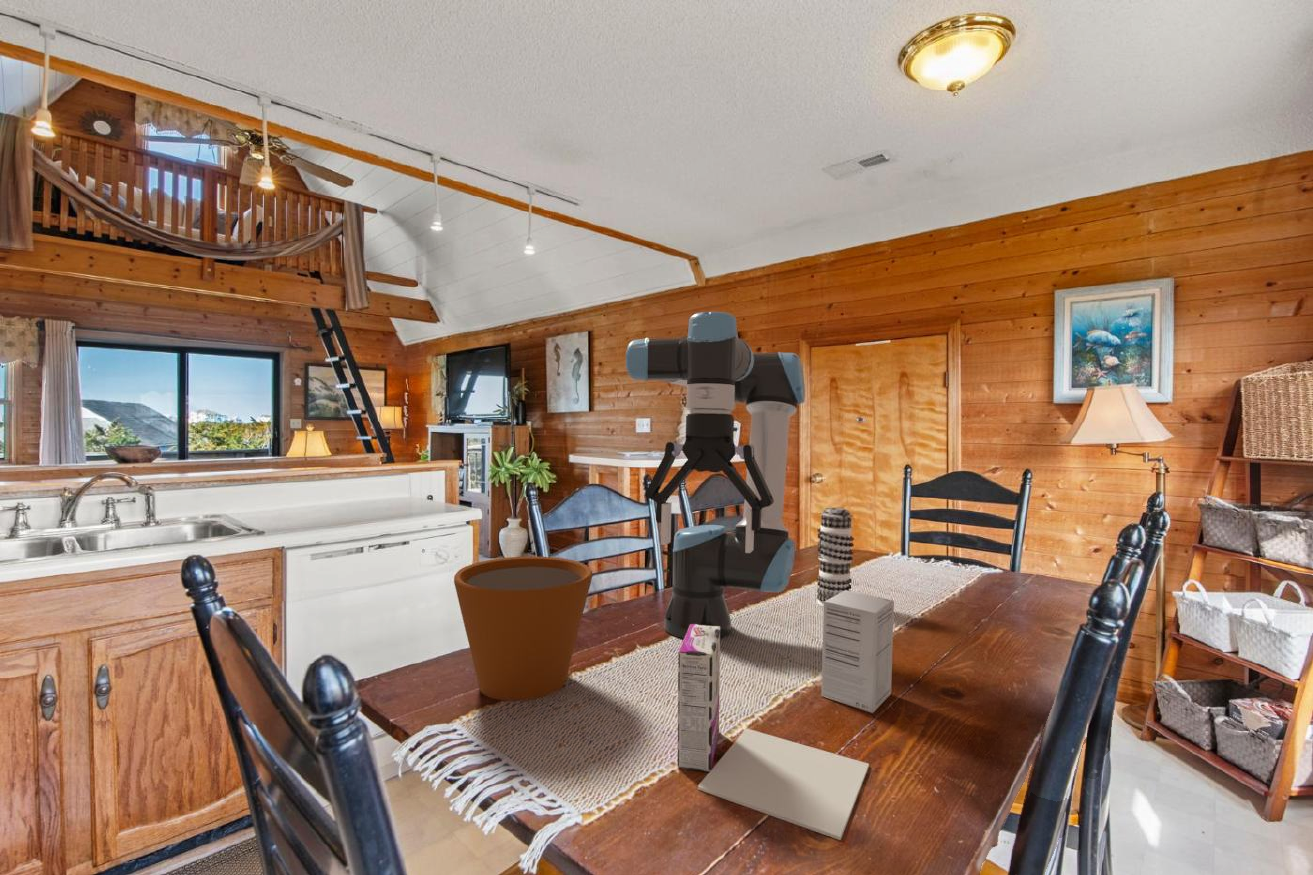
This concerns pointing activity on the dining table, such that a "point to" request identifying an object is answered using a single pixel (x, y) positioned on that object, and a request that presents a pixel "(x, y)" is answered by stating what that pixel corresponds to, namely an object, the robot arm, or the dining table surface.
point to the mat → (788, 781)
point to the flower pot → (522, 622)
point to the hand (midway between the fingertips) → (706, 547)
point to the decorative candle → (834, 553)
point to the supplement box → (857, 649)
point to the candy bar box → (698, 697)
